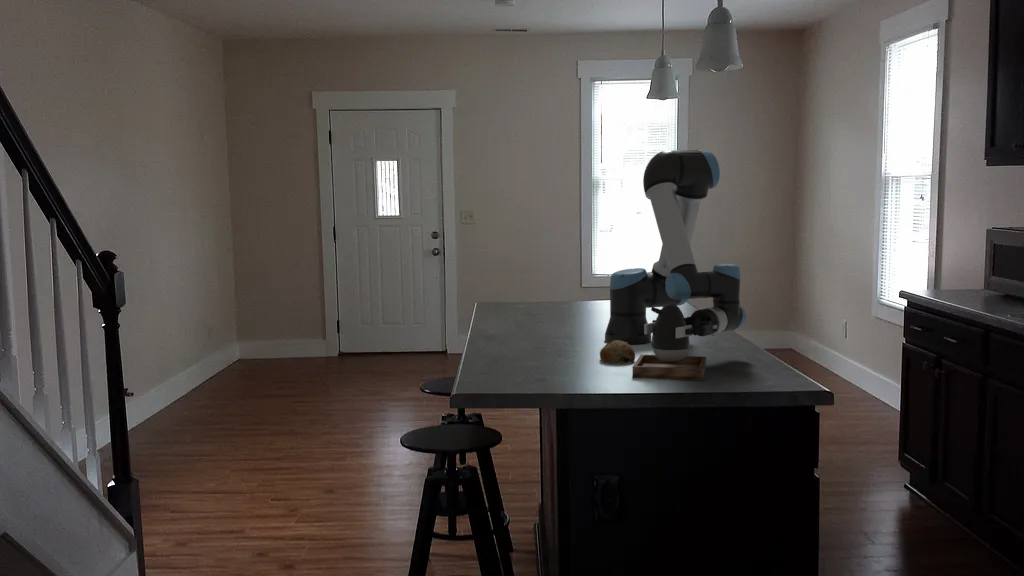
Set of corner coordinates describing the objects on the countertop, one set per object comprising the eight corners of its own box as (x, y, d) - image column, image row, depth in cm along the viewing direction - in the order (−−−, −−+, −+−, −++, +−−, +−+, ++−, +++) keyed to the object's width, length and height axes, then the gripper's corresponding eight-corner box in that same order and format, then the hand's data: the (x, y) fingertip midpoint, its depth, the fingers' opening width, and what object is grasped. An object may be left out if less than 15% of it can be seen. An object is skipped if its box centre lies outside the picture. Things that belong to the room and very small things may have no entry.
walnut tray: (632, 377, 233) (632, 366, 232) (640, 364, 250) (640, 354, 250) (702, 381, 228) (702, 369, 228) (705, 367, 245) (706, 356, 245)
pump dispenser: (646, 356, 243) (646, 302, 241) (683, 355, 244) (684, 301, 242) (655, 363, 233) (655, 306, 231) (694, 362, 234) (694, 305, 232)
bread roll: (608, 377, 252) (615, 354, 248) (590, 356, 259) (597, 334, 255) (636, 373, 256) (644, 350, 252) (618, 353, 264) (625, 331, 260)
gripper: (742, 339, 243) (696, 349, 227) (675, 330, 258) (627, 340, 243) (742, 311, 242) (696, 320, 226) (675, 305, 258) (627, 313, 242)
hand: (660, 331), depth 235 cm, fingers closed on pump dispenser, 9 cm apart
